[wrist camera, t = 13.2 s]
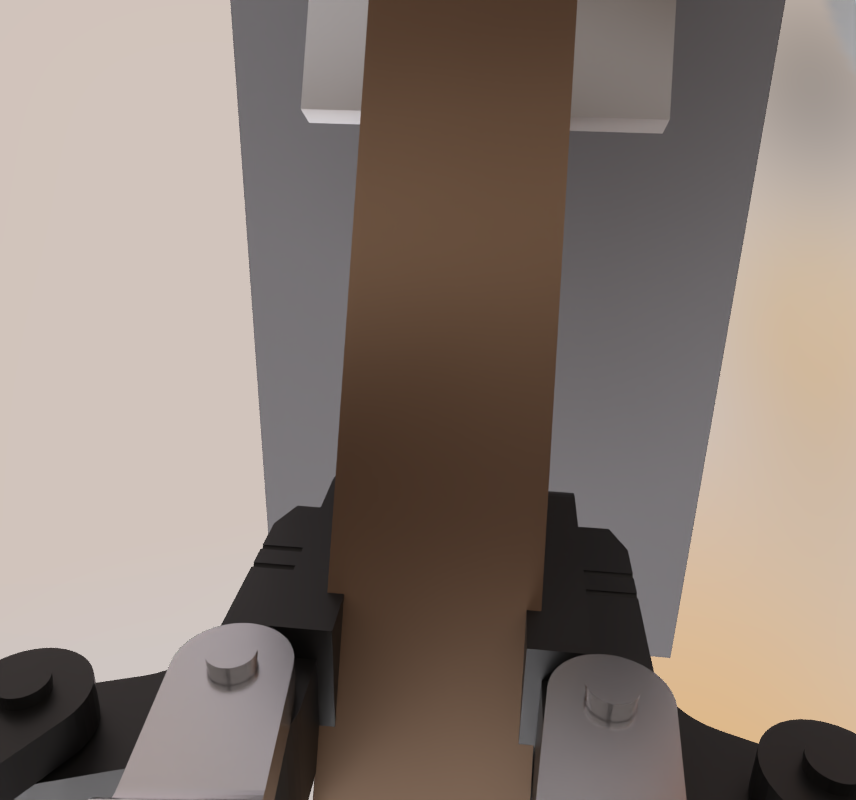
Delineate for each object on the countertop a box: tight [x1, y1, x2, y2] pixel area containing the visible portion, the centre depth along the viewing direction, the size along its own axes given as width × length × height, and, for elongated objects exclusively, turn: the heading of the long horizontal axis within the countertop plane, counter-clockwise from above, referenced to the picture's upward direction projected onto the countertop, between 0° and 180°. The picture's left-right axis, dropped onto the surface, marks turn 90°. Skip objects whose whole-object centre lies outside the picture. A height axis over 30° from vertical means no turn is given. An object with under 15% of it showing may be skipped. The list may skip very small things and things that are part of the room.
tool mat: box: [230, 0, 785, 658], centre depth 19 cm, size 22×11×1 cm, turn 179°
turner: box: [301, 0, 676, 800], centre depth 12 cm, size 20×6×4 cm, turn 179°
